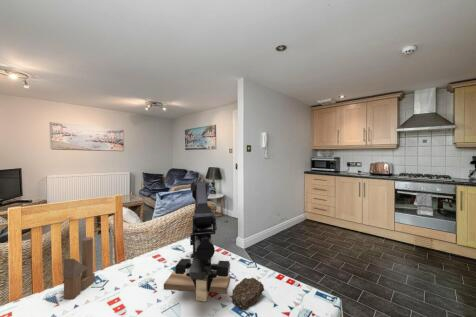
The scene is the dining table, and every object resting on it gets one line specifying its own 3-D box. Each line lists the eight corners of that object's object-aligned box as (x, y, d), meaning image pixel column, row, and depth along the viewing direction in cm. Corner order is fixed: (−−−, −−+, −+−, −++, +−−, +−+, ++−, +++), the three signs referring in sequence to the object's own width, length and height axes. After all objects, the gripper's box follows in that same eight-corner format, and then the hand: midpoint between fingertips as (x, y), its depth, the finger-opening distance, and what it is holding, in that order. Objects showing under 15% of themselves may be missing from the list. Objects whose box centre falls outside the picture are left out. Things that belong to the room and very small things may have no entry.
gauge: (206, 278, 85) (206, 261, 85) (214, 278, 85) (214, 261, 85) (196, 300, 71) (196, 280, 71) (206, 301, 71) (206, 281, 71)
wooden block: (63, 299, 72) (63, 247, 72) (86, 281, 83) (86, 236, 83) (73, 299, 72) (73, 247, 72) (95, 281, 83) (95, 236, 83)
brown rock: (251, 285, 81) (251, 272, 81) (268, 300, 72) (268, 285, 72) (225, 295, 75) (225, 281, 75) (241, 313, 66) (241, 297, 66)
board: (173, 275, 87) (173, 271, 87) (230, 279, 85) (230, 274, 85) (163, 289, 78) (163, 283, 78) (226, 293, 76) (226, 287, 76)
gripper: (168, 256, 67) (167, 305, 67) (225, 259, 65) (225, 309, 65) (181, 242, 78) (180, 284, 78) (230, 244, 76) (230, 287, 76)
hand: (203, 291), depth 74 cm, fingers closed on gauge, 3 cm apart
